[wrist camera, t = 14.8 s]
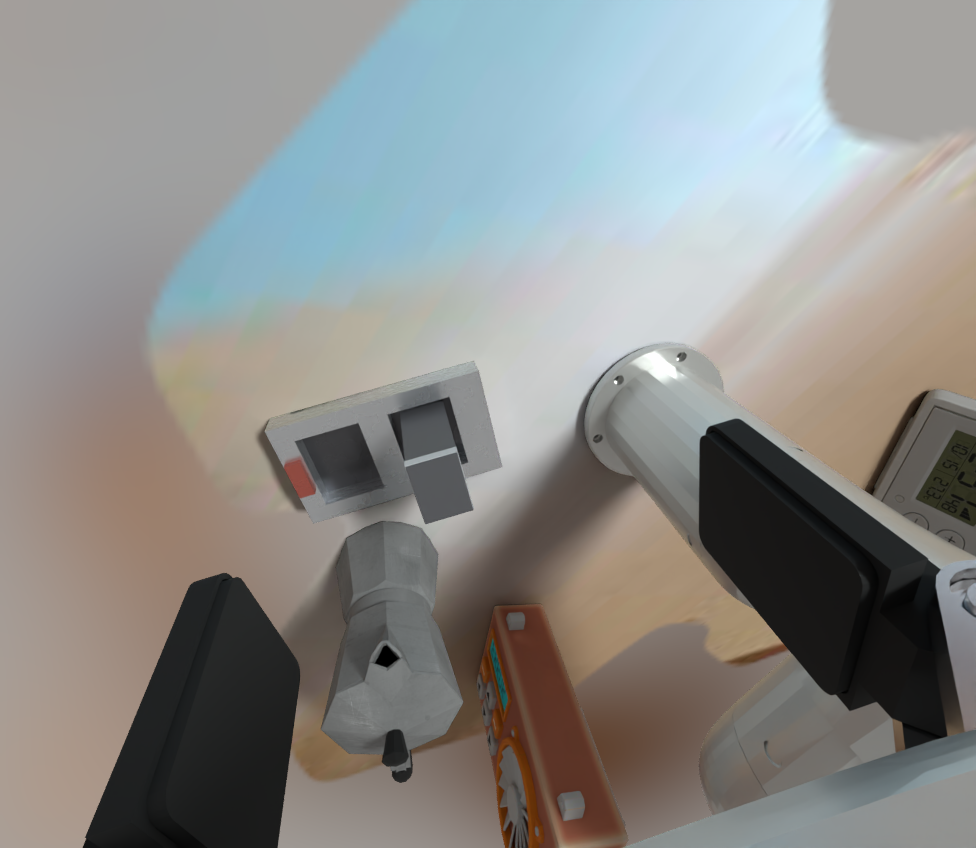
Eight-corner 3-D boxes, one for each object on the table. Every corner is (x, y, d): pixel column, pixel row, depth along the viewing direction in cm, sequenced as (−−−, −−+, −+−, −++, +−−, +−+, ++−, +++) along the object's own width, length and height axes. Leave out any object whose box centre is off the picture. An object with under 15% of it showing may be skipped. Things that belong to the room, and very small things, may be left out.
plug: (442, 395, 39) (457, 452, 32) (456, 446, 42) (474, 510, 35) (398, 407, 39) (404, 468, 32) (415, 458, 42) (425, 524, 34)
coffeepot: (324, 507, 42) (296, 714, 27) (435, 494, 44) (469, 682, 29) (348, 630, 50) (337, 847, 35) (442, 615, 52) (472, 816, 36)
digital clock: (929, 377, 49) (1055, 430, 40) (988, 392, 52) (1119, 445, 43) (836, 508, 56) (926, 579, 47) (893, 516, 59) (988, 584, 50)
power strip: (473, 360, 39) (479, 373, 37) (497, 454, 43) (503, 470, 41) (269, 418, 38) (263, 435, 36) (315, 508, 42) (312, 527, 40)
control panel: (468, 689, 58) (489, 596, 52) (525, 684, 60) (552, 593, 53) (512, 939, 40) (554, 845, 33) (592, 921, 42) (647, 829, 35)
